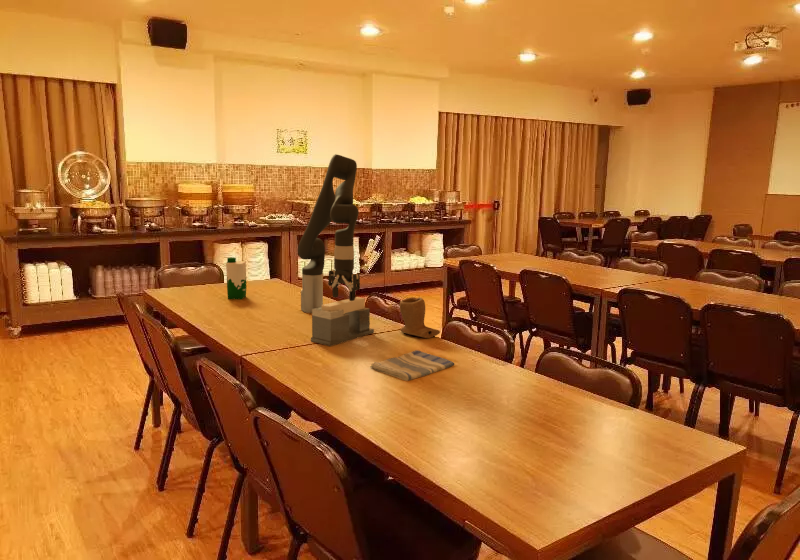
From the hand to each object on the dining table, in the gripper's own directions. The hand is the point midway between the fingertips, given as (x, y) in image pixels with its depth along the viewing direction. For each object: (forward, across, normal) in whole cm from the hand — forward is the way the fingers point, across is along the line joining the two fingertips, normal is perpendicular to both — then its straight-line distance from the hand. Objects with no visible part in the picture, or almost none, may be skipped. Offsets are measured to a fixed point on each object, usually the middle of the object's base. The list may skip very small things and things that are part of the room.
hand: (343, 298), depth 234 cm
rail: (+5, 0, 0) cm, 5 cm away
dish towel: (+15, +42, -12) cm, 47 cm away
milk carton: (+16, -88, +17) cm, 91 cm away
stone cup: (+15, +20, +21) cm, 33 cm away
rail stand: (+15, 0, 0) cm, 15 cm away
